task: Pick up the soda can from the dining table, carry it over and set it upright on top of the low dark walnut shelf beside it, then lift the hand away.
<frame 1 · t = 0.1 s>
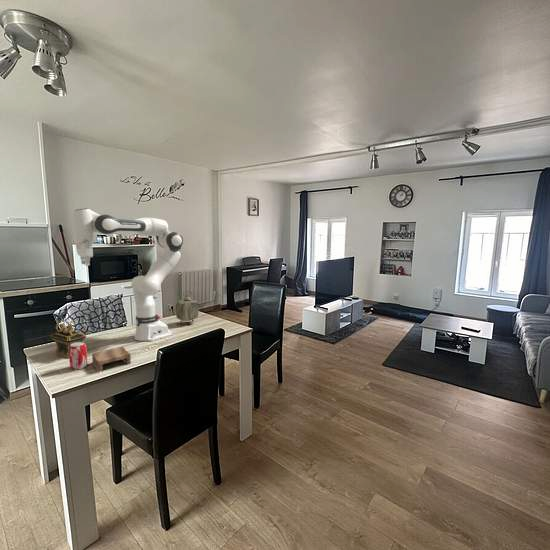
hand: (85, 264, 155), 48 cm above the table, tool pointing down, fingers open, 8 cm apart
walnut shelf: (111, 363, 144), on the table
tabletop clock: (188, 324, 211), on the table
soda can: (79, 367, 139), on the table
decorative box: (67, 353, 155), on the table
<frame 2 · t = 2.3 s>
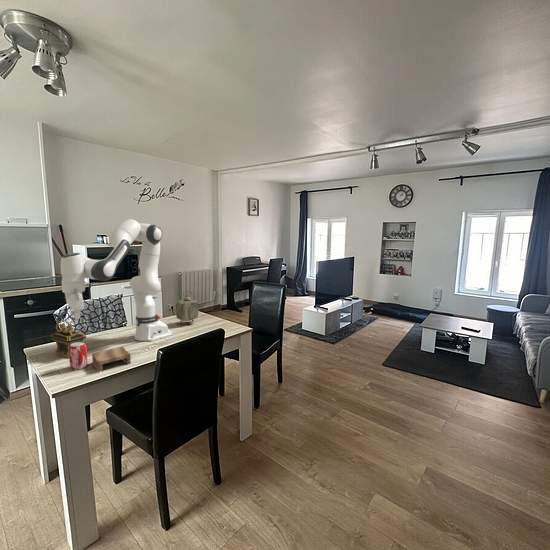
hand: (75, 316, 136), 26 cm above the table, tool pointing down, fingers open, 8 cm apart
nothing on the table moved.
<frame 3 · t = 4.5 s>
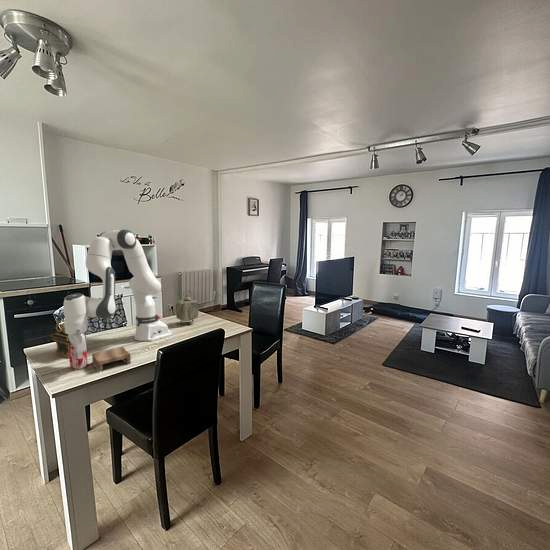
hand: (78, 355, 138), 6 cm above the table, tool pointing down, fingers open, 7 cm apart
soda can: (79, 367, 139), on the table, touching gripper
everything else where it was.
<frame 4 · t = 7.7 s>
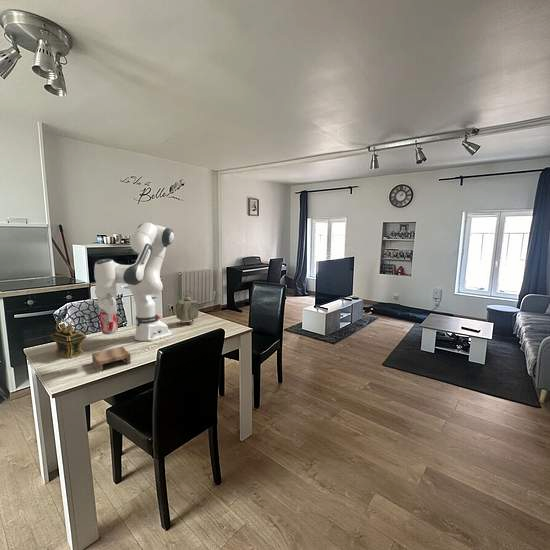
hand: (108, 319, 142), 23 cm above the table, tool pointing down, fingers closed on soda can, 7 cm apart
soda can: (110, 333, 143), point 16 cm above the table, touching gripper
everything else where it was.
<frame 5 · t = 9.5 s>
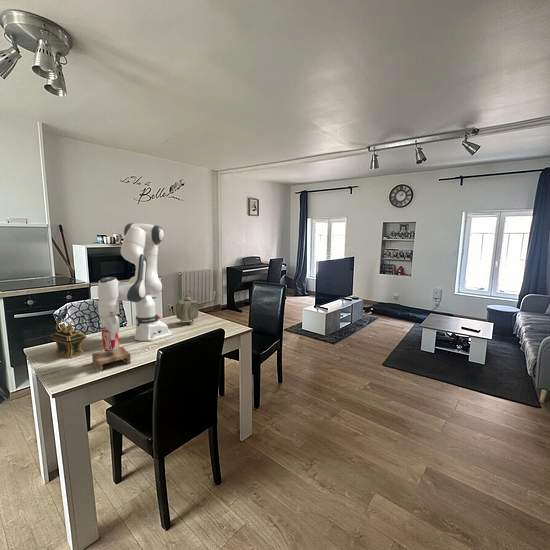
hand: (110, 337, 143), 14 cm above the table, tool pointing down, fingers closed on soda can, 7 cm apart
soda can: (112, 350, 144), point 7 cm above the table, touching gripper
everything else where it was.
when the fingers open (12 cm above the table, at t = 10.9 s): soda can stays where it is, resting on walnut shelf.
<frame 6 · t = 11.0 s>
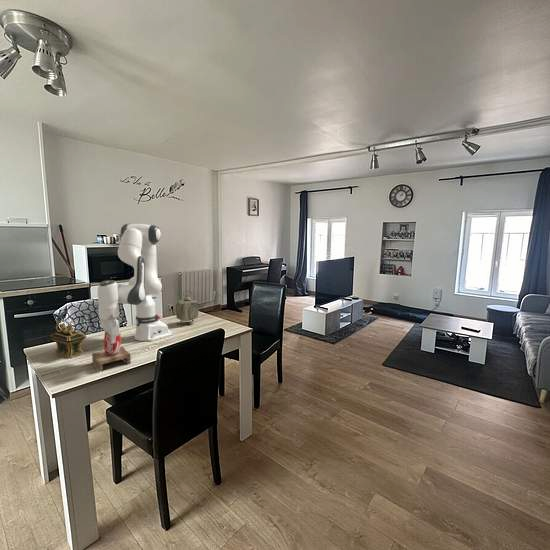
hand: (110, 340, 143), 12 cm above the table, tool pointing down, fingers open, 8 cm apart
soda can: (112, 353, 144), point 5 cm above the table, touching walnut shelf
everything else where it was.
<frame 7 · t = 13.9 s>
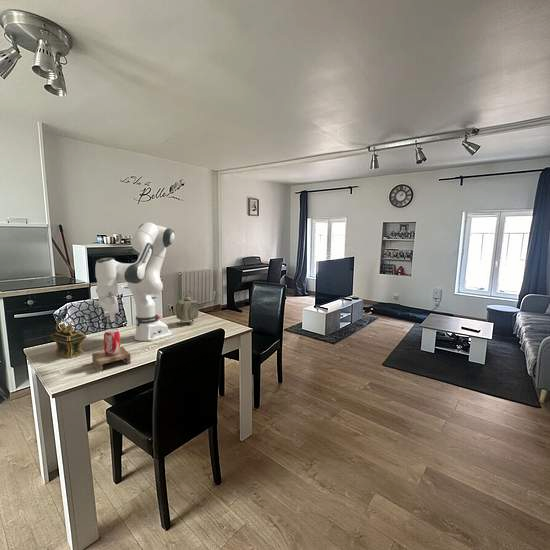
hand: (109, 318, 142), 23 cm above the table, tool pointing down, fingers open, 8 cm apart
nothing on the table moved.
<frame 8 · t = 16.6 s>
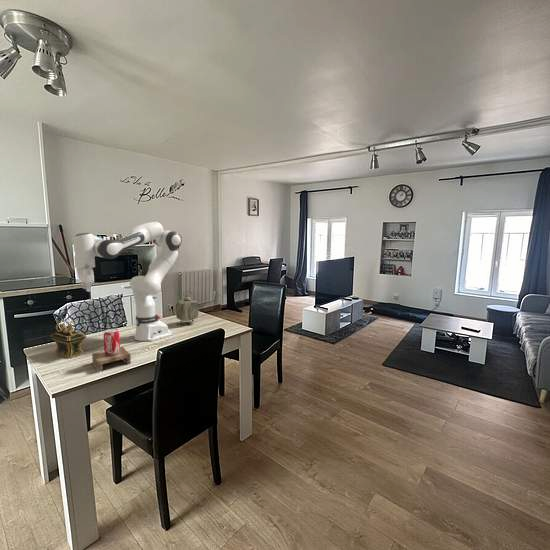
hand: (86, 290, 151), 35 cm above the table, tool pointing down, fingers open, 8 cm apart
nothing on the table moved.
at the end: soda can inside the target area (0.7 cm from its centre), point 4.8 cm above the table; soda can tilted 1°; the gripper is holding nothing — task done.
